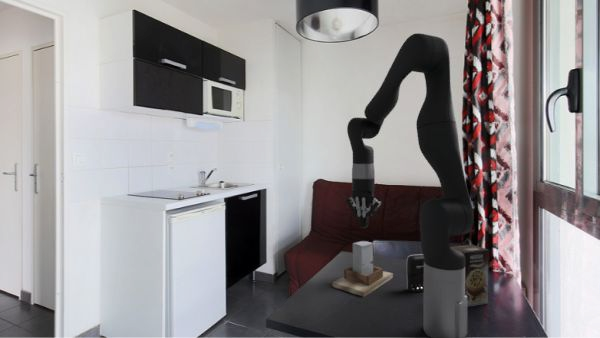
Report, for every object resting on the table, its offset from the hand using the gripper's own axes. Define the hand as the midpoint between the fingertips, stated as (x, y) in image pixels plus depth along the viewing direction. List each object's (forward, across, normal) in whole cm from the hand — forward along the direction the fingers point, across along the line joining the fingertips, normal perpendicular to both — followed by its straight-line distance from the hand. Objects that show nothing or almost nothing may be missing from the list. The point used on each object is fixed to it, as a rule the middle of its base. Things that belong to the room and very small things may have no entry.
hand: (363, 227), depth 110 cm
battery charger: (+19, -17, -5) cm, 26 cm away
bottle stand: (+19, 0, 0) cm, 19 cm away
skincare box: (+18, 0, 0) cm, 18 cm away
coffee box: (+19, -31, -7) cm, 37 cm away
